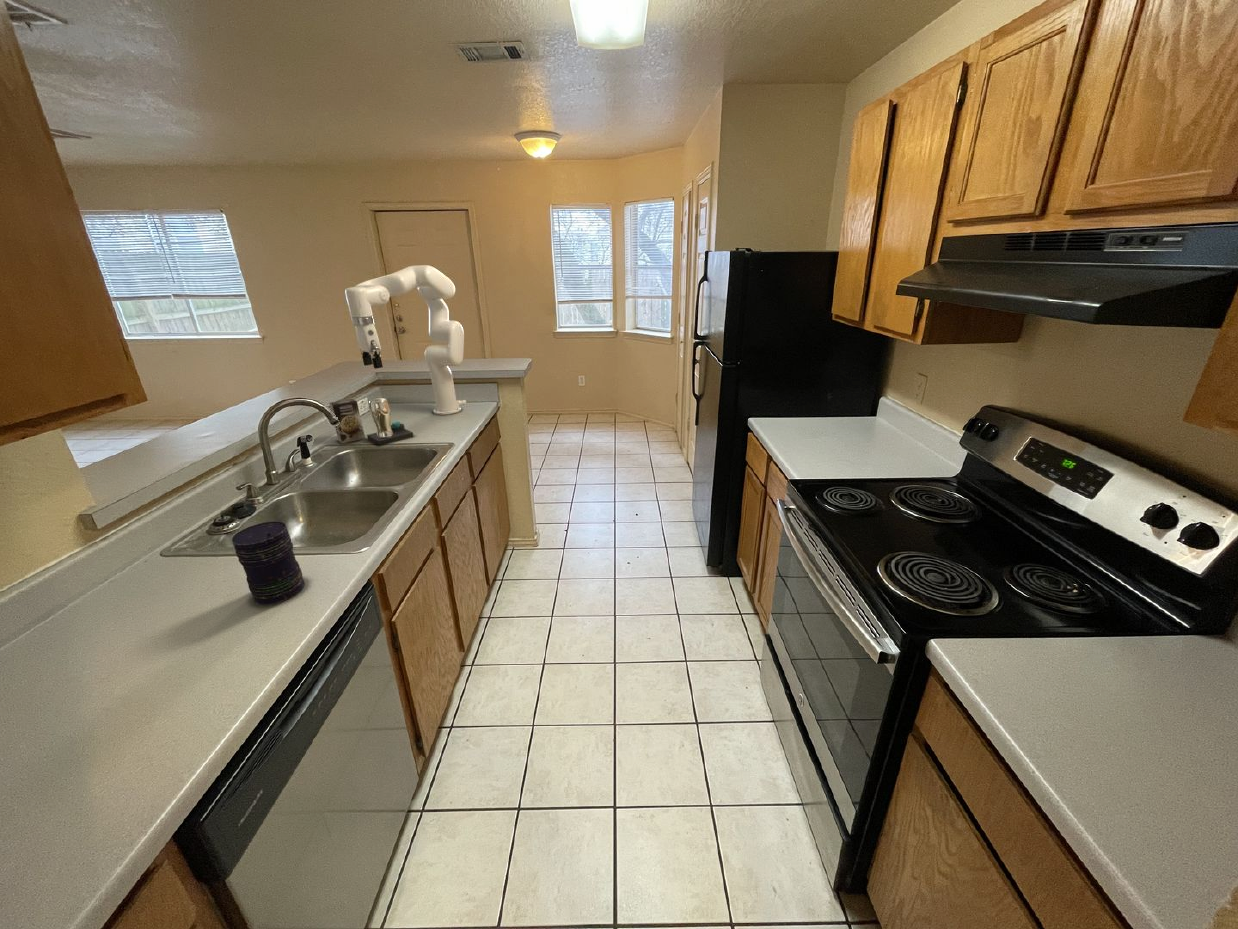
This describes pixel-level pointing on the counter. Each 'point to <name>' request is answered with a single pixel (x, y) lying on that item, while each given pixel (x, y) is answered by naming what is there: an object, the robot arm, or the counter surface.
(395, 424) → the scale button
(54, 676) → the counter surface
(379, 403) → the beer glass
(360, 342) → the robot arm
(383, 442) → the scale
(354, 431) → the cookie box
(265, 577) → the storage jar
